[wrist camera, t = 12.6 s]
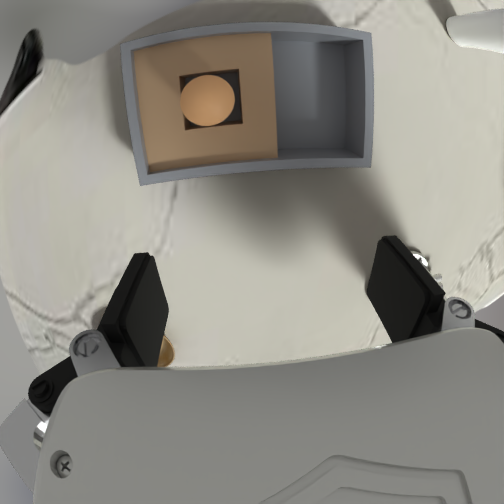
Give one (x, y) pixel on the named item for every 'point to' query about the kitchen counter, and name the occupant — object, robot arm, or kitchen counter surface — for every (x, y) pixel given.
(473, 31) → the drinking glass
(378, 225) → the kitchen counter surface
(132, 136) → the box
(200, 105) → the peg
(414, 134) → the kitchen counter surface
